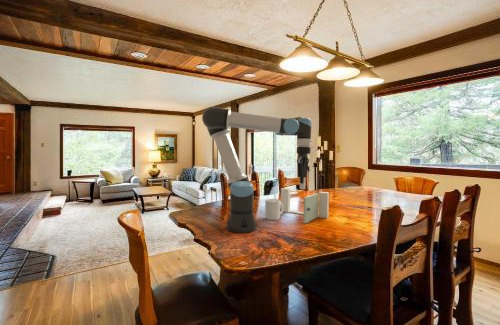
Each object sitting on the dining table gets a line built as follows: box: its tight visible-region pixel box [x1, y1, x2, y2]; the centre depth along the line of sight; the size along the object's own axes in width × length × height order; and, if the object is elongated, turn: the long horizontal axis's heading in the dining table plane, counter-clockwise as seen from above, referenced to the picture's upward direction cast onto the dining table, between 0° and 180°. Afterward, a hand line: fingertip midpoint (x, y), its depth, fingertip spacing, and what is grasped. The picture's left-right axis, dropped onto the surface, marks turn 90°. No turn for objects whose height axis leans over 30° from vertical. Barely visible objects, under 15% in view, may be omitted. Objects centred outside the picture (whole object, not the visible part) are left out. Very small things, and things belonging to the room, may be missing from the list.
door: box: [302, 190, 320, 224], centre depth 151 cm, size 19×3×16 cm, turn 144°
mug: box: [264, 198, 284, 221], centre depth 156 cm, size 9×12×11 cm
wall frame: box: [280, 187, 330, 219], centre depth 166 cm, size 30×3×15 cm, turn 58°
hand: (302, 188), depth 149 cm, fingers closed
